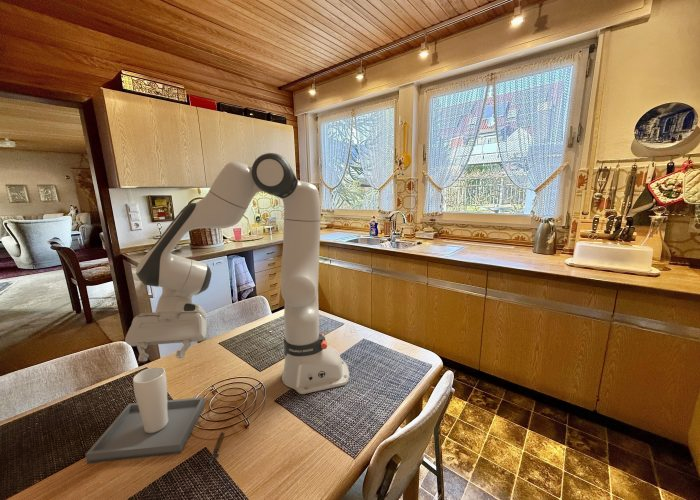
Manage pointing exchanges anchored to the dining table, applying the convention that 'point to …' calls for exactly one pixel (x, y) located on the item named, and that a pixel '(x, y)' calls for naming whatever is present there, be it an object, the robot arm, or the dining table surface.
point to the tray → (134, 442)
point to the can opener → (217, 447)
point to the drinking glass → (152, 398)
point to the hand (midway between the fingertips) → (161, 359)
